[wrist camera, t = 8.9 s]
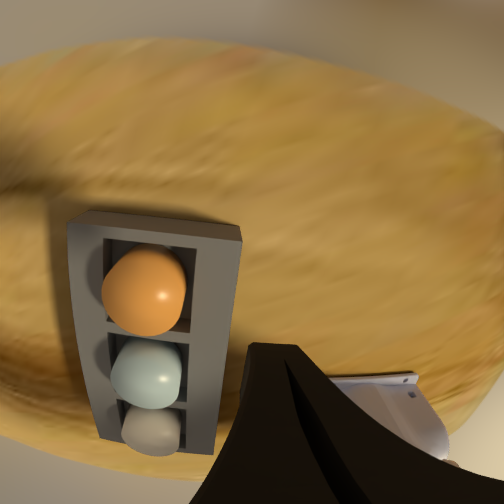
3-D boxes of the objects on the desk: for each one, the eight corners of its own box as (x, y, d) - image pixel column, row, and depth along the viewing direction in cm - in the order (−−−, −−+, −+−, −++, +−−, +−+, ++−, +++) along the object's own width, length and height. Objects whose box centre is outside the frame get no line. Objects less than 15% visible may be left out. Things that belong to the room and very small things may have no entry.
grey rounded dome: (184, 336, 18) (179, 364, 15) (182, 385, 19) (178, 413, 16) (119, 327, 17) (106, 352, 15) (123, 376, 18) (114, 402, 16)
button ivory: (181, 400, 19) (178, 427, 17) (181, 433, 21) (179, 459, 18) (125, 391, 19) (117, 418, 16) (131, 426, 20) (125, 451, 18)
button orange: (190, 247, 16) (184, 266, 14) (185, 315, 17) (180, 341, 15) (117, 239, 15) (100, 255, 13) (118, 305, 17) (104, 329, 14)
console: (239, 226, 18) (242, 241, 15) (213, 427, 23) (213, 455, 20) (89, 210, 17) (66, 222, 14) (108, 412, 22) (100, 438, 19)
